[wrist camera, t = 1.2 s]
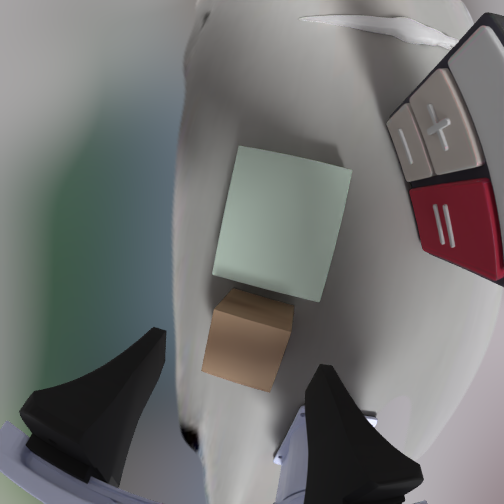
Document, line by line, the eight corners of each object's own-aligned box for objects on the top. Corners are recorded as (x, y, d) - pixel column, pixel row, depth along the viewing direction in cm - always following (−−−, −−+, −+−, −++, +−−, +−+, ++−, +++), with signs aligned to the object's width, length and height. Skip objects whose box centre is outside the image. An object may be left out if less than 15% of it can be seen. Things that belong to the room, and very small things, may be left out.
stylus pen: (451, 38, 15) (458, 30, 13) (457, 60, 15) (464, 51, 14) (298, 14, 18) (296, 2, 16) (299, 34, 19) (297, 23, 17)
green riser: (317, 290, 21) (319, 302, 19) (223, 266, 23) (212, 274, 20) (346, 175, 20) (352, 170, 17) (247, 153, 21) (238, 145, 18)
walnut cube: (277, 358, 23) (269, 392, 18) (220, 341, 23) (201, 371, 18) (294, 305, 22) (291, 332, 17) (233, 287, 22) (213, 309, 17)
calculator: (379, 119, 18) (472, 4, 4) (423, 110, 17) (534, 21, 3) (418, 256, 19) (554, 330, 5) (460, 242, 18) (600, 288, 4)
